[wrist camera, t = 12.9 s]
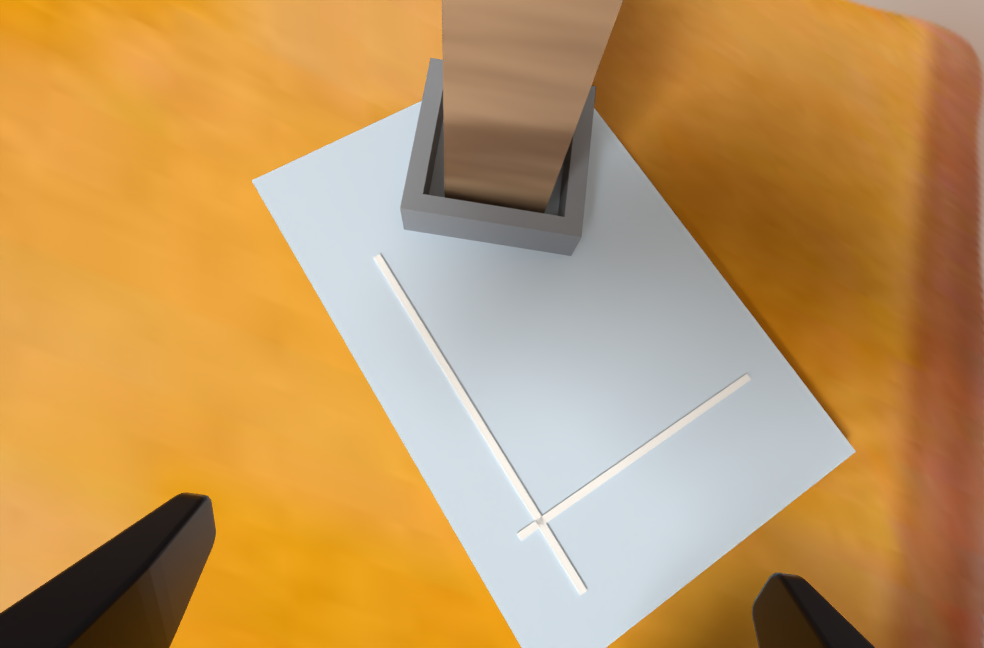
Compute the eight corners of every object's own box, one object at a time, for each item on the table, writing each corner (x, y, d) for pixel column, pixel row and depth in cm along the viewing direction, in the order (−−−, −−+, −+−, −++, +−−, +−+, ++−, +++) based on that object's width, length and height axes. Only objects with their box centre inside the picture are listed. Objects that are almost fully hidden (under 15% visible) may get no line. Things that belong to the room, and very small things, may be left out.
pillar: (541, 219, 24) (640, -48, 12) (444, 204, 24) (440, -83, 12) (551, 136, 26) (649, -186, 13) (459, 121, 25) (469, -219, 13)
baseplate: (842, 452, 23) (893, 449, 21) (544, 684, 20) (559, 717, 17) (538, 50, 28) (548, 4, 25) (254, 183, 24) (230, 148, 22)
